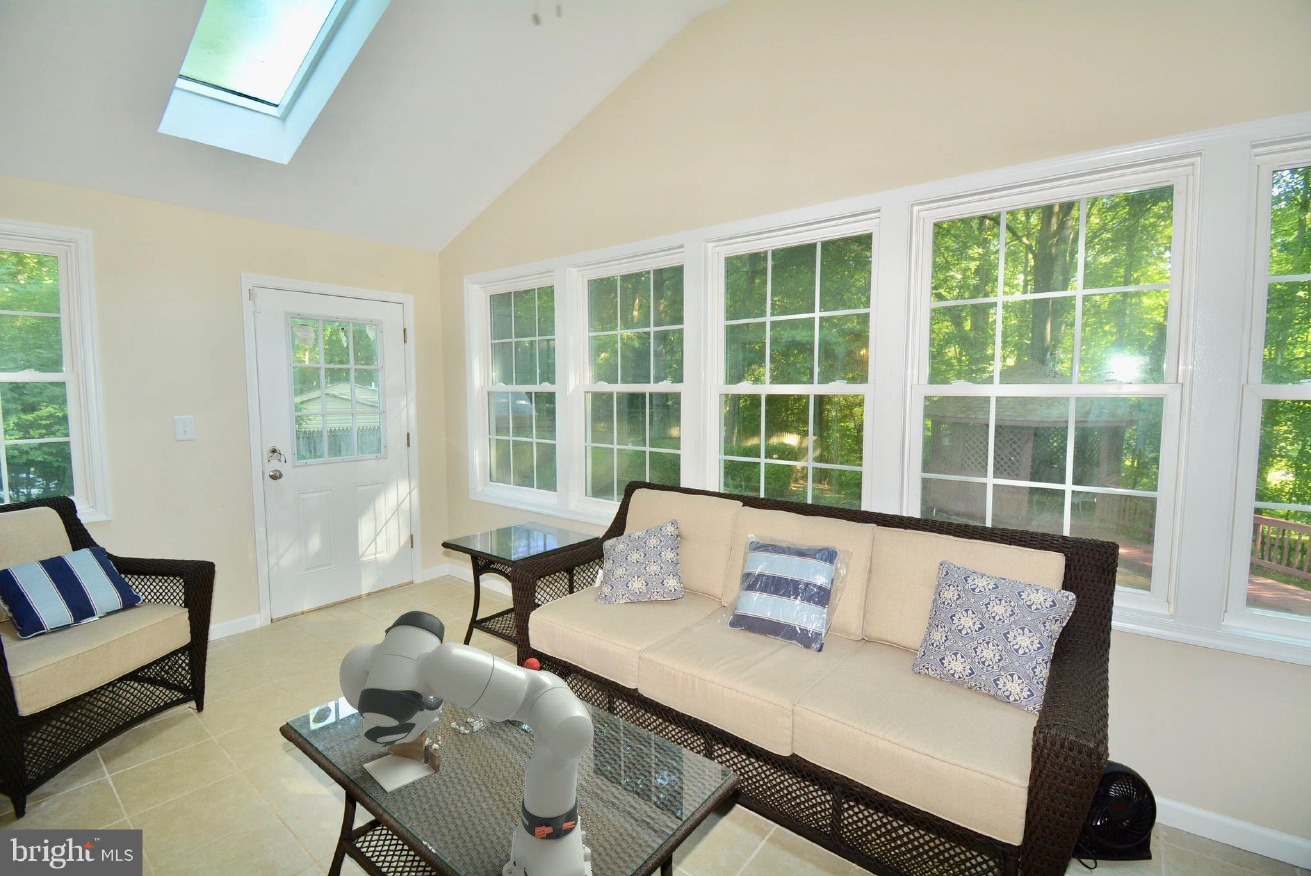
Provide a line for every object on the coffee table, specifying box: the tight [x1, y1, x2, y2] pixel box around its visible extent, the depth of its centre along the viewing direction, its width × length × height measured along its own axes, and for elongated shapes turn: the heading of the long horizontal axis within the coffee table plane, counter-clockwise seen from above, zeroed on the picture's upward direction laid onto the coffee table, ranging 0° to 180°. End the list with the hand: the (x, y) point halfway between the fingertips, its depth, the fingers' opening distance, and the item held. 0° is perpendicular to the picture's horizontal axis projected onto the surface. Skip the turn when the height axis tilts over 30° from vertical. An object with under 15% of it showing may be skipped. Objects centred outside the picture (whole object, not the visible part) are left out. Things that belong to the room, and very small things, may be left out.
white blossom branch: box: [425, 714, 486, 750], centre depth 174 cm, size 7×25×2 cm, turn 144°
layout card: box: [362, 752, 435, 794], centre depth 157 cm, size 15×14×1 cm
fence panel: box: [386, 730, 427, 760], centre depth 162 cm, size 2×12×8 cm, turn 73°
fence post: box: [424, 744, 441, 774], centre depth 159 cm, size 6×2×4 cm, turn 48°
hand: (390, 743), depth 161 cm, fingers closed
